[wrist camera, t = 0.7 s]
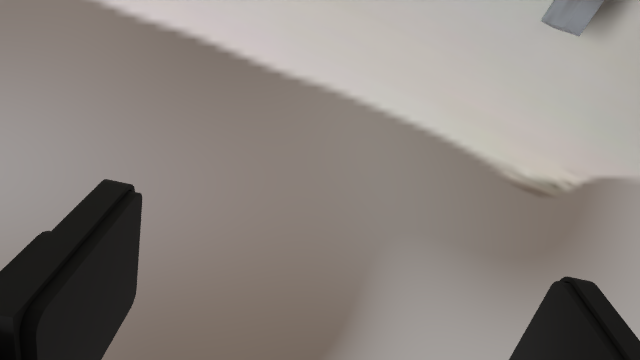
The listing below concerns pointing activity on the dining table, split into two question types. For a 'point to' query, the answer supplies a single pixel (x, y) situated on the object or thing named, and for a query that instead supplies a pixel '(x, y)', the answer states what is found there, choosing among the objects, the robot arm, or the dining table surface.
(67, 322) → the robot arm
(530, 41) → the dining table surface
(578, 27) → the channel
